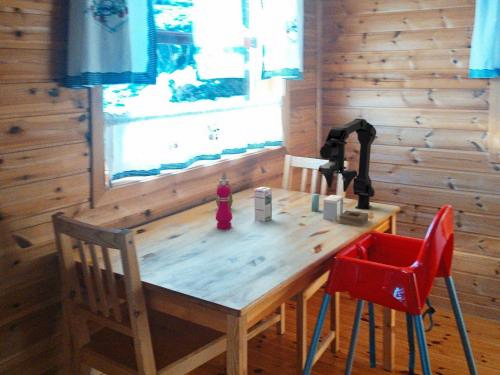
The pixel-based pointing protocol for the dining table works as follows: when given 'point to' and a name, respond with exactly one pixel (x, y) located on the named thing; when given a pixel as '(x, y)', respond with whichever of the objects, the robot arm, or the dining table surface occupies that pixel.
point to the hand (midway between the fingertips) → (337, 189)
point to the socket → (353, 218)
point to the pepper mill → (223, 207)
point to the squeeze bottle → (226, 185)
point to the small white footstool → (332, 207)
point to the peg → (315, 202)
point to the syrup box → (263, 203)
